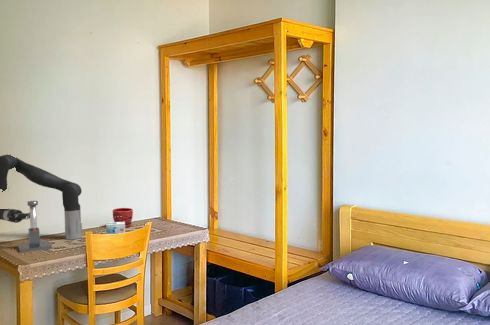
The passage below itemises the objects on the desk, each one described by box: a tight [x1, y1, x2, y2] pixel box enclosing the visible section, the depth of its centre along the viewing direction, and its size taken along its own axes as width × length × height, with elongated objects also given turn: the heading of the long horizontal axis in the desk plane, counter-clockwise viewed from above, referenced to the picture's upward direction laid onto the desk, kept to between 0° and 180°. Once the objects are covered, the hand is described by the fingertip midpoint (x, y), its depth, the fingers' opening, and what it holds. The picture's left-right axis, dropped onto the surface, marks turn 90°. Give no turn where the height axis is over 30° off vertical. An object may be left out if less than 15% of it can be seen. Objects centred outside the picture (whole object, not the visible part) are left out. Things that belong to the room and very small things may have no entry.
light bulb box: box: [105, 221, 126, 234], centre depth 272 cm, size 11×7×11 cm, turn 105°
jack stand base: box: [17, 227, 53, 253], centre depth 259 cm, size 16×16×10 cm
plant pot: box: [112, 207, 134, 229], centre depth 312 cm, size 13×13×12 cm
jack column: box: [27, 200, 39, 230], centre depth 258 cm, size 5×5×24 cm
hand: (28, 218), depth 261 cm, fingers open, 8 cm apart
